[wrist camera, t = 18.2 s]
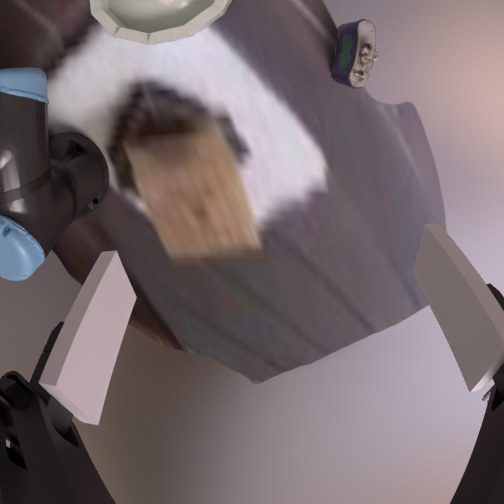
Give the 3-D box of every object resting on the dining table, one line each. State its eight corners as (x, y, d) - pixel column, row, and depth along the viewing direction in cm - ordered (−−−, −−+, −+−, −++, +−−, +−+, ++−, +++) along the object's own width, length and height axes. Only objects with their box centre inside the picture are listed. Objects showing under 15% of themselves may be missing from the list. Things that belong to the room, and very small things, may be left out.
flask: (337, 22, 32) (364, 15, 24) (357, 27, 32) (388, 23, 24) (328, 80, 38) (351, 89, 29) (347, 84, 38) (375, 95, 29)
